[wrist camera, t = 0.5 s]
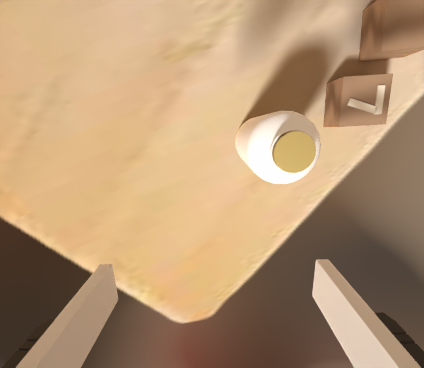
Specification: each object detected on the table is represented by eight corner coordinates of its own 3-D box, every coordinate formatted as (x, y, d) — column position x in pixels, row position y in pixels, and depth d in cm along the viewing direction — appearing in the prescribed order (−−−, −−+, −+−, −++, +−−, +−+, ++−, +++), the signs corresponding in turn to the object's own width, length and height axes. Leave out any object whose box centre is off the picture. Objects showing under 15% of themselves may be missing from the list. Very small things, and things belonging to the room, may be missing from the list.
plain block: (362, 11, 33) (387, -9, 28) (408, 6, 33) (442, -14, 28) (358, 61, 35) (381, 51, 30) (402, 57, 35) (432, 46, 30)
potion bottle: (274, 167, 39) (323, 200, 22) (230, 159, 39) (243, 185, 22) (287, 121, 37) (351, 116, 20) (240, 112, 37) (263, 99, 20)
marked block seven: (326, 83, 36) (344, 76, 31) (368, 80, 36) (394, 73, 31) (323, 126, 38) (339, 126, 33) (363, 124, 37) (386, 123, 32)
